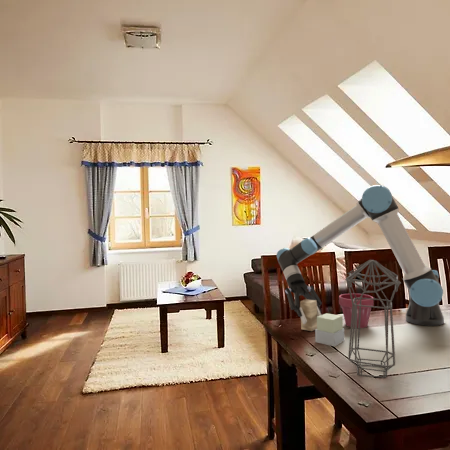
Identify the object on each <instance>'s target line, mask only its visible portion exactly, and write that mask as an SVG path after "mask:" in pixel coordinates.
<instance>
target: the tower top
mask: <svg viewBox="0 0 450 450" xmlns="http://www.w3.org/2000/svg"><path fill="white" fill-rule="evenodd" d="M343 320H344V317H343V316H342V315H338V314H333V313H327V312H326V313H323V314H321V315H320V316H318V317H317V330H321V331H326V332H330V333H335V332H337V331H339V330H341V329H343V328H344V325H343V322H344V321H343Z"/></svg>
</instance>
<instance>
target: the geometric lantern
mask: <svg viewBox="0 0 450 450" xmlns="http://www.w3.org/2000/svg"><path fill="white" fill-rule="evenodd" d="M365 268H367V269H366V272H365V274H363V273H361V272H362V271H363V270H364V269H365ZM378 269H379V270H380V271H381V272H382V273H383V274H382V275H380V273H379V270H378ZM374 270H375V271H374ZM375 272H376V274H377V275H375ZM347 275H348V276H347V277H346V278H345V281H346V284H347V288H348V291H349V292H348V293H349V294H350V297H351V301H352V317H351V327H350V332H349V344H348V359H347V360H348V361H349V362H350V363H352V364H353V365H354V366H355V367H356V374H357V376H360V377H371V378H381V379H385V378H387V377H388V371H389V370H390V369H391V368H393V367H394V366H396V351H395V349H396V348H395V347H396V346H395V334H394V333H395V332H394V331H395V330H394V320H393V319H394V318H393V302H392V301H393V299H394V297H395V294H396V293H397V292H398V289H399V286H400V284H402V282H401V281H400V280H399V275H398V274H396V273H395V272H393V271H391V270H390V269H388V268H387V267H385V266H383V265H382V264H381V263H380V262H379V261H377V260H374V259H369V260H367V261H365V262H364V263H361V264H360V265H358V266H356V267H355V268H354V269H352V270H350V271H349V272H347ZM355 277H357V278H358V279H355ZM363 277H364V278H363ZM368 278H369V281H367V279H368ZM376 278H378V281H377V282H376ZM381 278H386V279H384V280H383V281H382V282H381ZM371 280H372V281H371ZM389 280H391V281H389ZM352 283H353V284H352ZM358 283H362V285H363V287H362V286H361V285H360V284H358ZM366 284H367V285H366ZM353 285H355V286H356V287H358V288H359V289H361V290H362V293H360V294H361V296H360V298H356V295H355V294H356V293H355V290H354V288H353ZM381 285H384V286H383V287H381ZM369 286H373V290H367V289H368V288H369ZM391 286H394V290H393V291H392V294H391V297H390V300H389V299H388V297H387V296H386V295H385V292H383V290H385V289H387V288H389V287H391ZM376 287H378V289H376ZM380 291H381V293H382V294H383V296H384V298H385V299H382V298H381V296H380V295H379V293H378V292H380ZM351 293H354V295H355V298H354V299H353V298H352V294H351ZM368 293H369V294H370V293H375V294H376V296H377V298H373V299H372V298H361V297H362V296H363V294H368ZM357 299H358V301H359V300H360V305H357V302H358V301H357V302H356V300H357ZM361 299H371V300H374V301H380V303H381V304H382V306H374V305H373V306H366V305H361ZM354 300H355V303H354ZM384 301H386V304H385V303H384ZM357 306H359V324H358V328H357ZM361 306H363V307H371V308H376V309H383V310H384V311H383V312H384V332H385V334H384V335H385V337H384V338H385V350H380V349H372V348H365V347H364V348H363V347H360V338H361V337H360V334H361V328H360V319H361ZM353 314H354V318H353ZM389 316H390V334H391V335H390V336H391V350H392V352H390V351H389ZM352 327H353V328H352ZM354 327H355V328H354ZM359 350H360V351H368V352H376V353H384V355H383V357H382V359H381V360H379V359H370V358H369V359H368V358H361V357H360V356H361V355H360V352H359ZM352 354H353V355H354V359H351V357H352ZM357 355H358V356H357ZM389 355H391V356H389ZM391 358H392V364H389V361H390V360H391ZM384 360H385V361H384ZM366 361H367V362H366ZM368 361H369V362H368ZM370 361H371V362H370ZM372 362H379V363H380V364H378V363H372ZM361 366H362V367H361ZM368 367H373V368H368ZM375 368H381V369H382V370H381V369H375ZM383 369H384V370H383ZM363 370H368V371H374V372H383V376H380V375H372V374H363Z"/></svg>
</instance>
